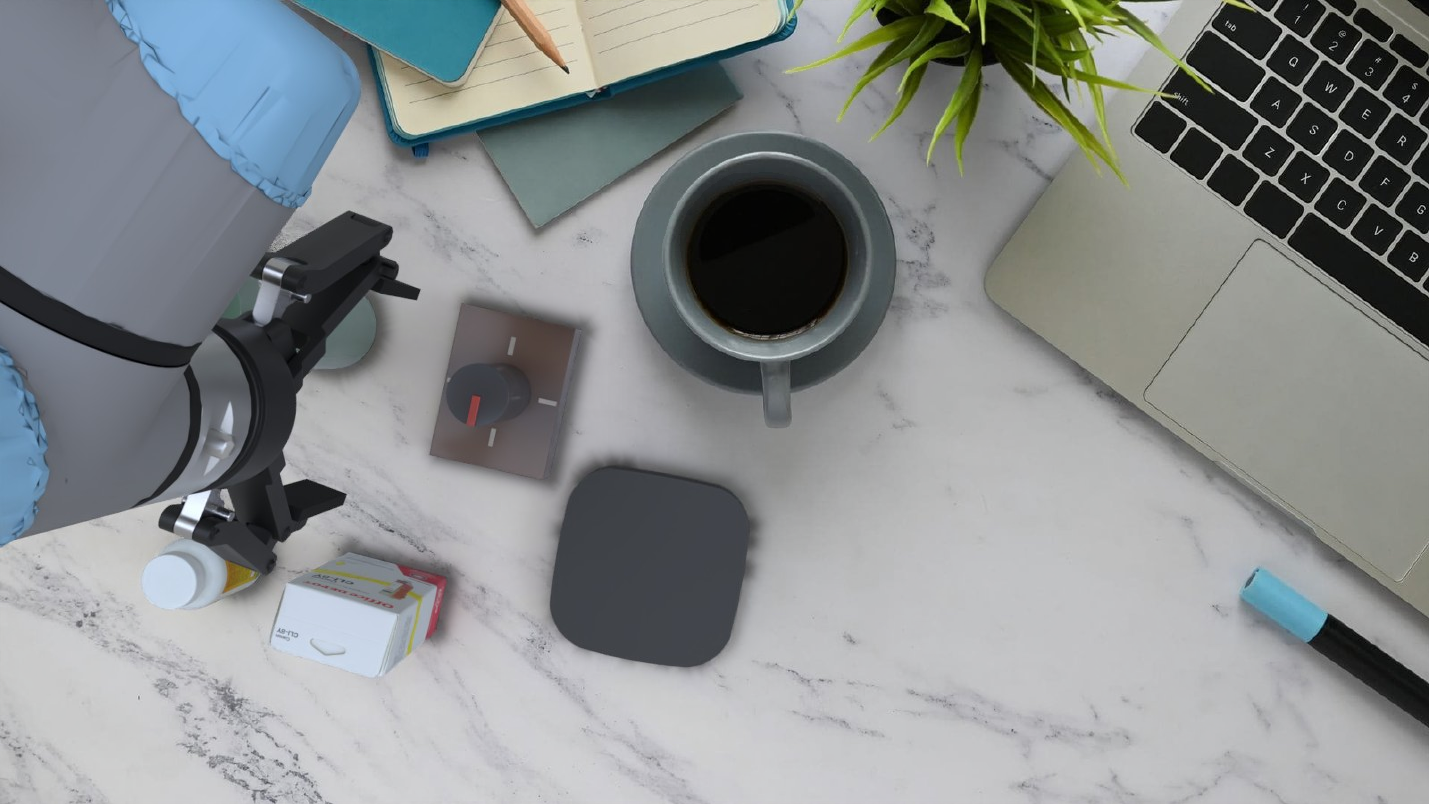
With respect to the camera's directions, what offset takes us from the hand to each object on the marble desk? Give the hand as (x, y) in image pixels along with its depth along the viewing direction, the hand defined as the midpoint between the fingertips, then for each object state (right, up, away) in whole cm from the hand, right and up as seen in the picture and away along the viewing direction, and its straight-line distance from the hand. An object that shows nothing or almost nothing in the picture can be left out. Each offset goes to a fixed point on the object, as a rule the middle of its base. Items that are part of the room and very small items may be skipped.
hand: (361, 390), depth 61 cm
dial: (+6, 0, +14) cm, 16 cm away
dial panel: (+6, 0, +18) cm, 18 cm away
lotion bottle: (-9, +5, +17) cm, 20 cm away
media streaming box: (+17, -14, +18) cm, 28 cm away
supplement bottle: (-17, -13, +19) cm, 28 cm away
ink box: (-4, -16, +19) cm, 25 cm away
